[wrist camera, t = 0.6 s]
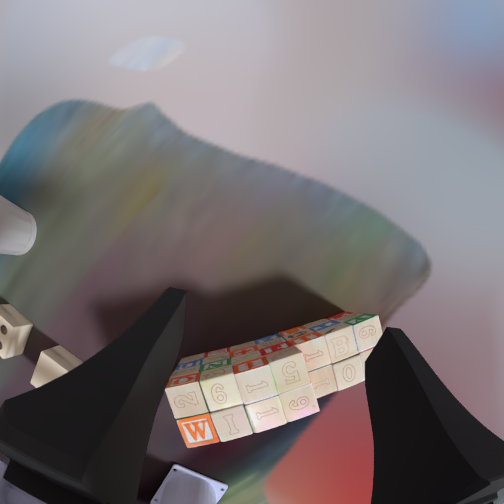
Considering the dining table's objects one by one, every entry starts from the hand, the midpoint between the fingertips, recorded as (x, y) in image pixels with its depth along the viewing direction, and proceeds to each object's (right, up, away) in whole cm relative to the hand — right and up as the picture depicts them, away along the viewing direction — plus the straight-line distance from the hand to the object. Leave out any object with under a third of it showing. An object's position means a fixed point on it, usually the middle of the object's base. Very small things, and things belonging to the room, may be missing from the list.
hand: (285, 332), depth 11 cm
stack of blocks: (+1, -10, +27) cm, 29 cm away
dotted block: (-34, -8, +23) cm, 42 cm away
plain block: (-25, -13, +24) cm, 37 cm away
